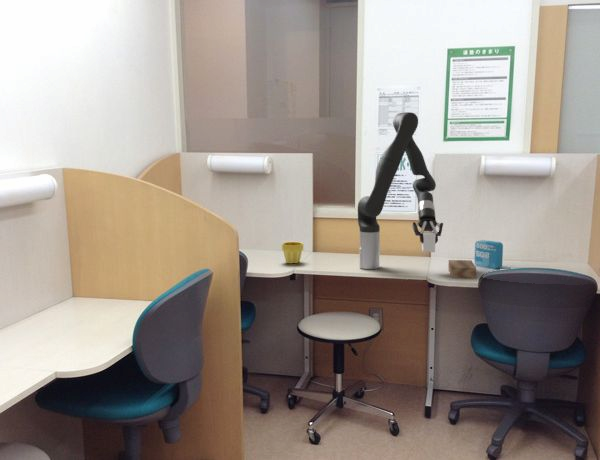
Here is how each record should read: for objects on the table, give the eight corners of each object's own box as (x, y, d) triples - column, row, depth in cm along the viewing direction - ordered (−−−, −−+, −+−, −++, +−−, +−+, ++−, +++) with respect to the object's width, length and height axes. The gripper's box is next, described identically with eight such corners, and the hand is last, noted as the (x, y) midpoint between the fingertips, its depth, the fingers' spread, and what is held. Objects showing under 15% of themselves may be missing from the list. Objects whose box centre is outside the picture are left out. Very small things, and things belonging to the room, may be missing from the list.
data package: (474, 265, 277) (474, 240, 275) (479, 264, 280) (480, 239, 278) (496, 269, 268) (497, 243, 266) (502, 268, 270) (503, 242, 269)
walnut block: (451, 278, 253) (452, 267, 252) (448, 270, 269) (448, 259, 268) (475, 279, 251) (476, 267, 251) (470, 271, 267) (471, 260, 266)
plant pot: (303, 265, 283) (302, 245, 282) (281, 265, 284) (281, 245, 282) (303, 260, 293) (303, 241, 292) (283, 260, 294) (282, 241, 292)
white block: (423, 251, 260) (424, 234, 259) (421, 249, 265) (422, 232, 264) (434, 252, 260) (435, 234, 258) (432, 249, 265) (433, 232, 264)
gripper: (411, 206, 268) (413, 237, 257) (443, 207, 267) (447, 237, 257) (409, 217, 274) (411, 246, 263) (441, 217, 273) (444, 247, 263)
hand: (429, 242), depth 260 cm, fingers closed on white block, 5 cm apart
